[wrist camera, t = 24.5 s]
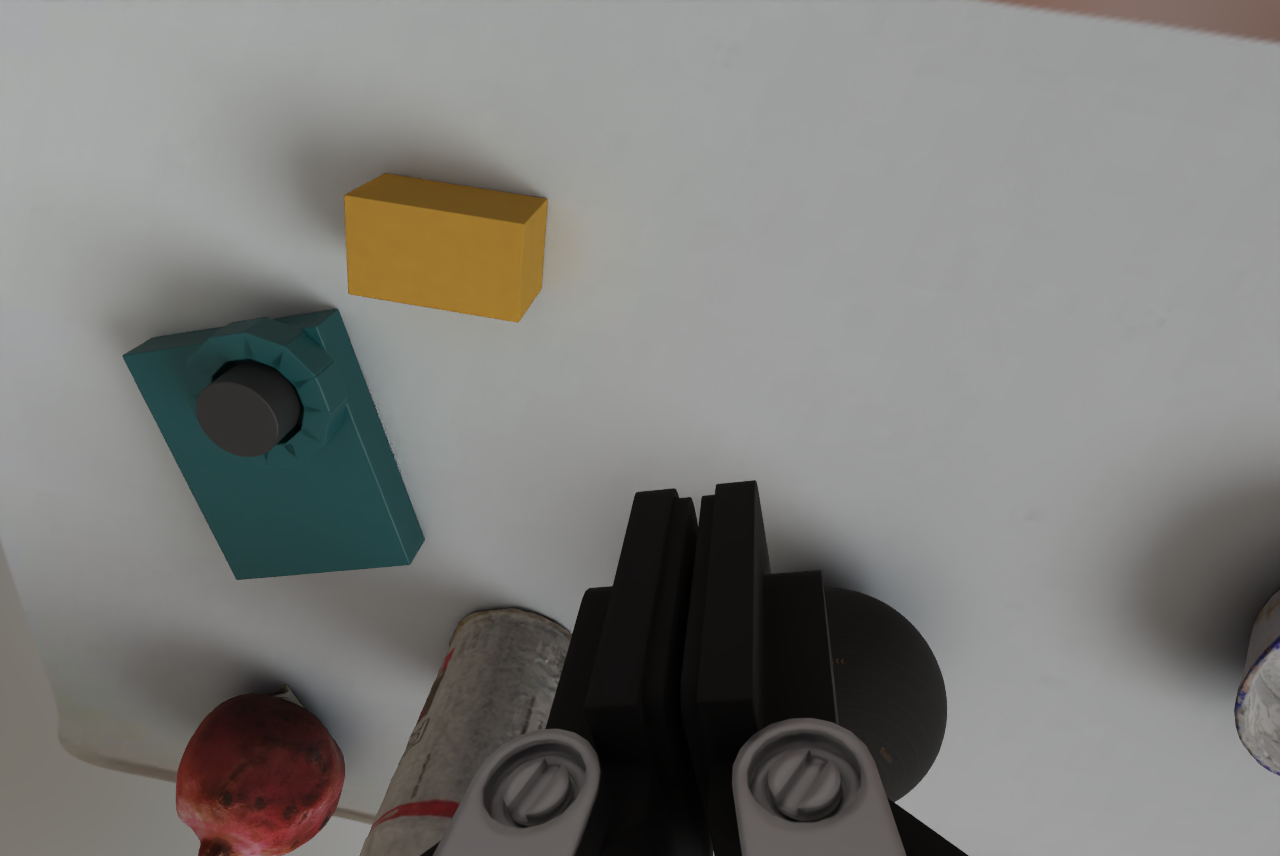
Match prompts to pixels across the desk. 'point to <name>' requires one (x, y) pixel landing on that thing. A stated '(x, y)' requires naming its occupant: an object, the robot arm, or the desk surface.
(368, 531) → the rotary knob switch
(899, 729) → the speaker
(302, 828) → the fruit
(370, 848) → the spray can
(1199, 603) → the desk surface
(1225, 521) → the desk surface
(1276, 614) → the bowl
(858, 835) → the robot arm
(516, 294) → the sponge
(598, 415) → the desk surface
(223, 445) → the dark gray cylinder
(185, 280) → the desk surface
